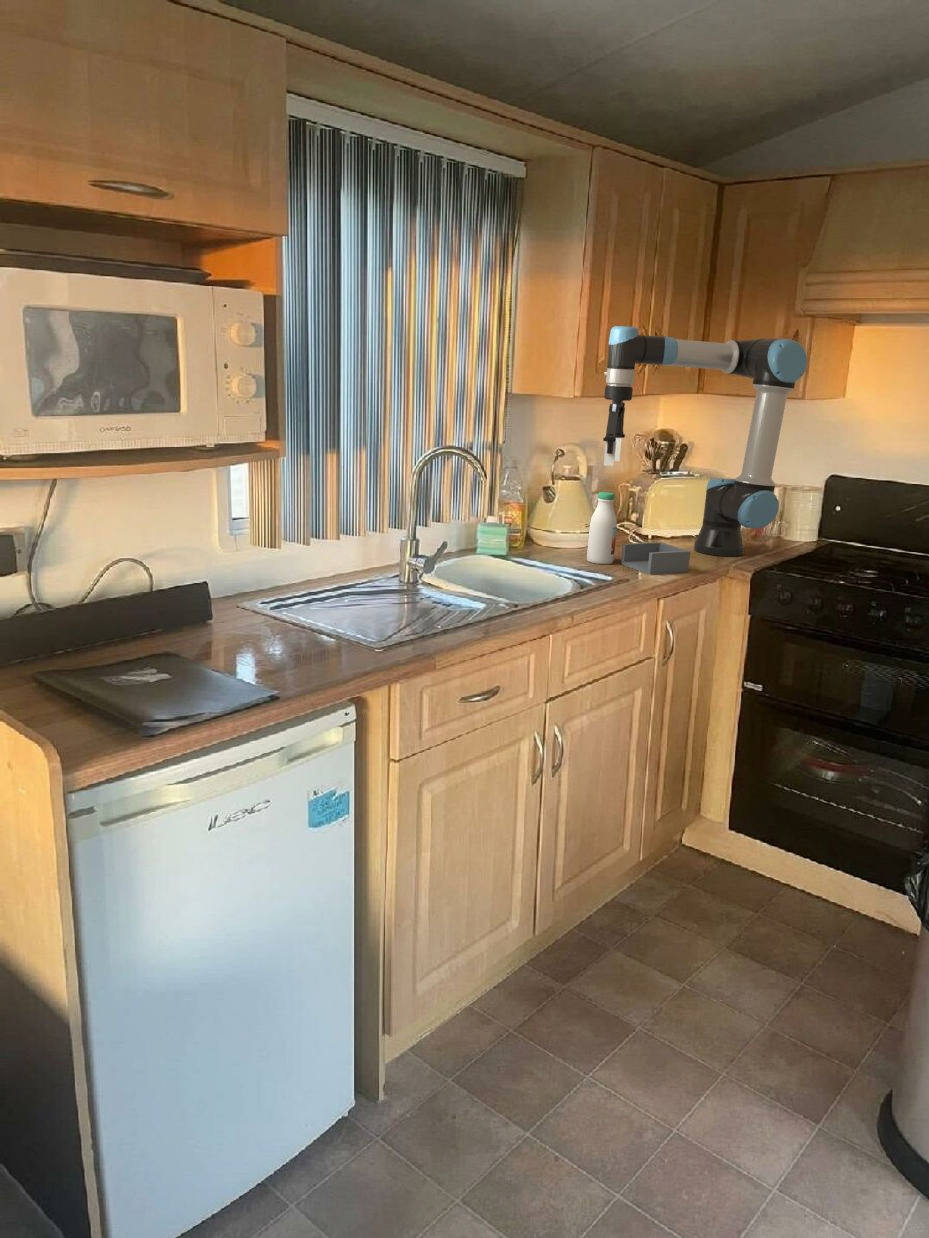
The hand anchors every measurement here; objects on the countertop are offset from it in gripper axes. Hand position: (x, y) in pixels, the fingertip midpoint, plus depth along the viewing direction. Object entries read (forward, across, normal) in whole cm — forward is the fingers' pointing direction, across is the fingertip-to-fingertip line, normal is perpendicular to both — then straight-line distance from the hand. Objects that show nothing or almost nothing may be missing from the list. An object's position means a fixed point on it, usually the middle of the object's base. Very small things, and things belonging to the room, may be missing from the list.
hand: (611, 463), depth 270 cm
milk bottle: (+29, -1, -1) cm, 29 cm away
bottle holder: (+28, 0, +15) cm, 32 cm away
